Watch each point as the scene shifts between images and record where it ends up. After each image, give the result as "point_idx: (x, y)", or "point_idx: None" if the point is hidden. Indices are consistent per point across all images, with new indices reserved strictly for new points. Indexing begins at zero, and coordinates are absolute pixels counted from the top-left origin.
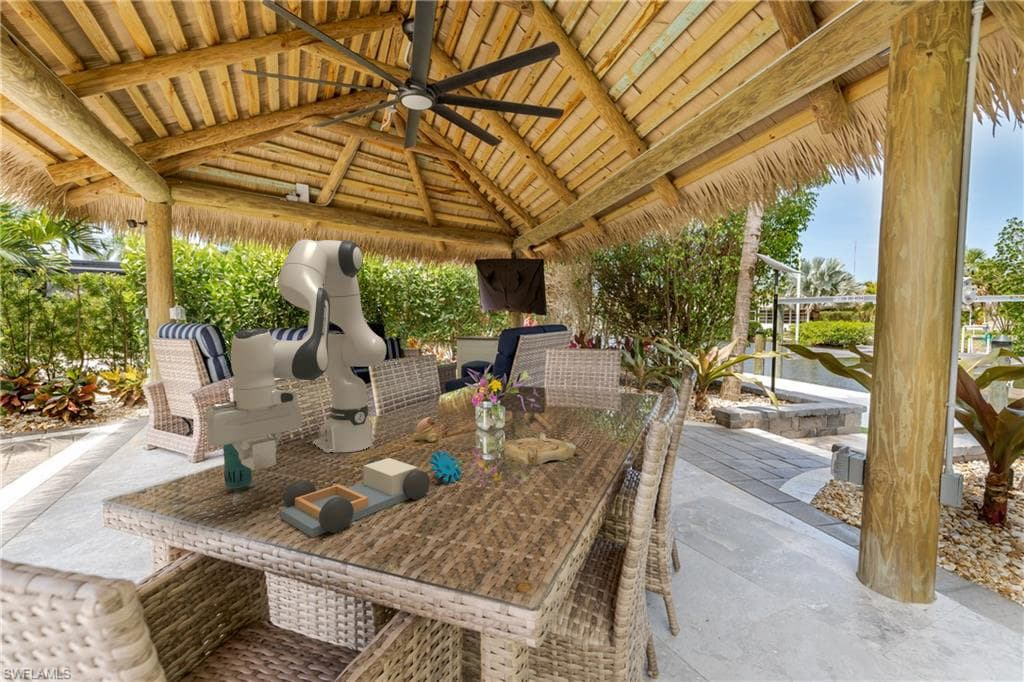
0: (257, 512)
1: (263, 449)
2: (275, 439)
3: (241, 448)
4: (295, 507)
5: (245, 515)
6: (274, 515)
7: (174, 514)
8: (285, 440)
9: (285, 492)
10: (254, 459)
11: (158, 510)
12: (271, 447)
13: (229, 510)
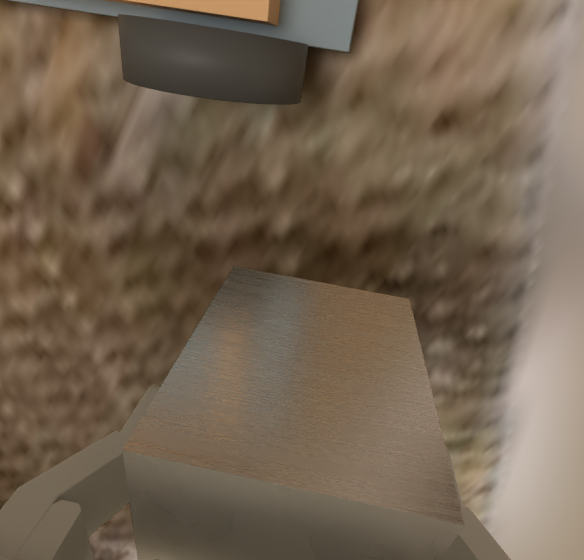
0: (355, 220)
1: (313, 401)
2: (90, 491)
3: (480, 558)
4: (284, 7)
5: (396, 236)
6: (339, 124)
7: (486, 433)
8: None
9: (284, 92)
10: (412, 358)
11: (481, 482)
12: (215, 381)
13: None
